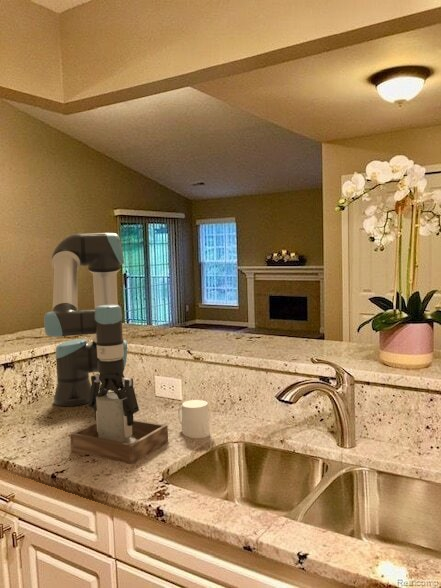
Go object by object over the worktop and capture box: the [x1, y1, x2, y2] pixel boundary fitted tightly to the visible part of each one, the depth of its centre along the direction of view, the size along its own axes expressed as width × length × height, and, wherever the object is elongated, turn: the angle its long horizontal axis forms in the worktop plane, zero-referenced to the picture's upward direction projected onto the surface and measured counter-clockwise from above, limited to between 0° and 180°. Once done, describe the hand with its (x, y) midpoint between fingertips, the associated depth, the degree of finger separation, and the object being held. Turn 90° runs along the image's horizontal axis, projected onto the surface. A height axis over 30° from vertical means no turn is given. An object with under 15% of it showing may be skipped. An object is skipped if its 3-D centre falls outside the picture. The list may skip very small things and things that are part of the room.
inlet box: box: [69, 419, 169, 465], centre depth 144 cm, size 17×22×5 cm
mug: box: [177, 399, 211, 439], centre depth 153 cm, size 12×9×8 cm
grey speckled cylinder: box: [96, 391, 131, 442], centre depth 145 cm, size 10×10×12 cm
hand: (114, 433), depth 145 cm, fingers closed on grey speckled cylinder, 9 cm apart
